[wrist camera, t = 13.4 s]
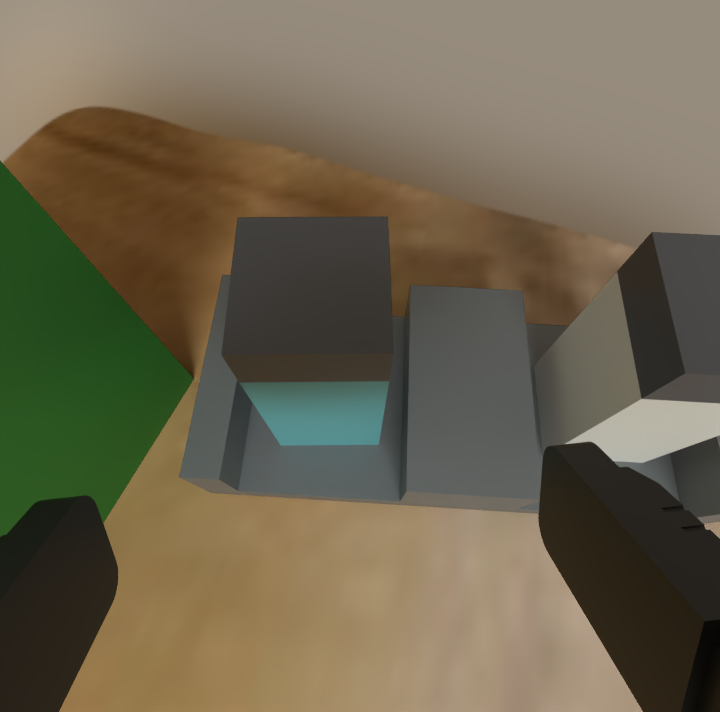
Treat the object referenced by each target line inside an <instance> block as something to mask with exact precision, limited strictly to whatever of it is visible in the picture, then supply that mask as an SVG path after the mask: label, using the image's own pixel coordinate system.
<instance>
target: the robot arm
mask: <svg viewBox="0 0 720 712" xmlns="http://www.w3.org/2000/svg"><path fill="white" fill-rule="evenodd" d="M539 527H540V532H541V536H542V539H543V542H544V545H545V547H546V550H547V551H548V553H549V555H550V557H551V558H552V560H553V562H554V563H555V565H556V567H557V568H558V570H559V572H560V573H561V575H562V577H563V578H564V580H565V582H566V583H567V585H568V587H569V588H570V590H571V592H572V594H573V595H574V597H575V599H576V600H577V602H578V604H579V605H580V607H581V609H582V610H583V612H584V614H585V615H586V617H587V619H588V620H589V622H590V624H591V625H592V627H593V629H594V630H595V632H596V634H597V635H598V637H599V639H600V640H601V642H602V644H603V645H604V647H605V649H606V650H607V652H608V654H609V655H610V657H611V659H612V660H613V662H614V664H615V665H616V667H617V669H618V670H619V672H620V674H621V675H622V677H623V679H624V680H625V682H626V684H627V685H628V687H629V689H630V690H631V692H632V694H633V695H634V697H635V699H636V700H637V702H638V704H639V706H640V707H641V709H642V711H643V712H720V539H719V538H718V537H717V536H716V535H715V534H714V533H713V532H712V531H711V530H706V529H705V527H704V524H703V523H702V522H701V521H700V520H699V519H698V518H696V517H695V516H694V515H693V514H692V513H691V512H690V511H689V510H684V508H683V505H682V504H681V503H680V502H679V501H678V500H677V499H676V498H675V497H674V496H672V495H671V494H670V493H669V492H668V491H667V490H666V489H665V488H664V487H663V486H661V485H660V484H659V483H657V482H656V481H654V480H652V479H650V478H648V477H646V476H644V475H643V474H641V473H639V472H637V471H635V470H633V469H631V468H629V467H619V466H618V465H617V464H616V463H615V462H614V461H613V460H612V459H611V458H610V457H609V456H608V455H607V454H606V453H604V452H603V451H602V450H601V449H600V448H599V447H598V446H597V445H596V444H595V443H593V442H581V443H571V444H562V445H553V446H548V447H547V448H546V449H545V451H544V454H543V461H542V475H541V488H540V502H539ZM117 585H118V567H117V563H116V559H115V556H114V553H113V551H112V548H111V545H110V542H109V539H108V536H107V533H106V530H105V527H104V524H103V521H102V519H101V516H100V513H99V510H98V507H97V505H96V503H95V501H94V500H93V499H92V498H91V497H90V496H87V495H84V496H75V497H66V498H57V499H47V500H40V501H38V502H36V503H35V504H33V505H32V506H31V507H30V509H29V510H28V511H27V512H26V513H25V514H24V515H23V516H22V518H21V519H20V520H19V521H18V522H17V523H16V524H15V526H14V527H13V528H12V529H11V530H10V531H9V532H8V533H7V535H3V536H1V537H0V712H59V710H60V708H61V706H62V704H63V702H64V700H65V698H66V696H67V694H68V692H69V690H70V688H71V686H72V684H73V682H74V680H75V678H76V676H77V674H78V672H79V670H80V668H81V666H82V664H83V662H84V660H85V658H86V656H87V653H88V651H89V649H90V647H91V645H92V643H93V641H94V639H95V637H96V635H97V633H98V631H99V629H100V627H101V625H102V623H103V621H104V619H105V617H106V615H107V613H108V611H109V609H110V607H111V605H112V603H113V600H114V597H115V594H116V590H117Z"/></svg>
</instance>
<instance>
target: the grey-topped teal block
mask: <svg viewBox="0 0 720 712" xmlns="http://www.w3.org/2000/svg"><path fill="white" fill-rule="evenodd" d="M221 355H222V357H223V358H224V360H225V361H226V363H227V364H228V366H229V367H230V369H231V371H232V372H233V374H234V375H235V377H236V378H237V380H238V381H239V383H240V384H241V386H242V387H243V389H244V390H245V392H246V393H247V395H248V396H249V398H250V399H251V401H252V403H253V404H254V406H255V407H256V409H257V410H258V412H259V413H260V415H261V416H262V418H263V419H264V421H265V422H266V424H267V425H268V427H269V428H270V430H271V431H272V433H273V435H274V436H275V438H276V439H277V441H278V442H279V444H280V445H281V446H291V445H379V440H380V434H381V428H382V422H383V416H384V410H385V404H386V398H387V392H388V386H389V380H390V373H391V367H392V361H393V355H394V346H393V322H392V299H391V276H390V253H389V229H388V217H248V218H238V219H237V227H236V236H235V244H234V252H233V261H232V269H231V277H230V286H229V294H228V302H227V311H226V319H225V327H224V336H223V344H222V352H221Z"/></svg>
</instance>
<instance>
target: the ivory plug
mask: <svg viewBox="0 0 720 712" xmlns="http://www.w3.org/2000/svg"><path fill="white" fill-rule="evenodd" d="M534 372H535V382H536V392H537V403H538V413H539V423H540V434H541V444H542V454H544V451H545V449H546V448H547V447H548V446H553V445H562V444H571V443H581V442H593V443H595V444H596V445H597V446H598V447H599V448H600V449H601V450H602V451H603V452H604V453H606V454H607V455H608V456H609V457H610V458H611V459H612V460H613V461H620V462H637V463H644V462H646V461H649V460H652V459H655V458H658V457H660V456H663V455H666V454H669V453H672V452H674V451H677V450H680V449H683V448H686V447H688V446H691V445H694V444H697V443H700V442H702V441H705V440H708V439H711V438H714V437H716V436H719V435H720V235H699V234H680V233H659V232H652V233H651V234H650V235H649V236H648V237H647V238H646V239H645V240H644V242H643V243H642V244H641V245H640V246H639V247H638V248H637V250H636V251H635V252H634V253H633V254H632V255H631V256H630V257H629V259H628V260H627V261H626V262H625V263H624V264H623V265H622V267H621V268H620V269H619V270H618V271H617V272H616V273H615V275H614V276H613V277H612V278H611V279H610V280H609V281H608V282H607V284H606V285H605V286H604V287H603V288H602V289H601V290H600V292H599V293H598V294H597V295H596V296H595V297H594V298H593V299H592V301H591V302H590V303H589V304H588V305H587V306H586V307H585V309H584V310H583V311H582V312H581V313H580V314H579V315H578V316H577V318H576V319H575V320H574V321H573V322H572V323H571V324H570V326H569V327H568V328H567V329H566V330H565V331H564V332H563V333H562V335H561V336H560V337H559V338H558V339H557V340H556V341H555V343H554V344H553V345H552V346H551V347H550V348H549V349H548V350H547V352H546V353H545V354H544V355H543V356H542V357H541V358H540V360H539V361H538V362H537V363H536V364H535V365H534Z"/></svg>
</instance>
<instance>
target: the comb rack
mask: <svg viewBox="0 0 720 712" xmlns="http://www.w3.org/2000/svg"><path fill="white" fill-rule="evenodd" d="M230 277H231V275H222V279H221V284H220V289H219V293H218V298H217V303H216V307H215V312H214V317H213V322H212V326H211V331H210V336H209V340H208V345H207V350H206V354H205V359H204V364H203V369H202V373H201V378H200V383H199V387H198V392H197V397H196V401H195V406H194V411H193V415H192V420H191V425H190V430H189V434H188V439H187V444H186V448H185V453H184V458H183V462H182V467H181V472H180V478H182V479H184V480H186V481H188V482H190V483H192V484H194V485H196V486H199V487H201V488H203V489H205V490H207V491H209V492H211V493H222V494H238V495H254V496H270V497H285V498H301V499H317V500H333V501H348V502H364V503H380V504H396V505H411V506H427V507H443V508H459V509H474V510H490V511H506V512H521V513H537V514H539V502H540V488H541V475H542V461H543V454H542V444H541V434H540V423H539V413H538V403H537V392H536V382H535V372H534V365H535V364H536V363H537V362H538V361H539V360H540V358H541V357H542V356H543V355H544V354H545V353H546V352H547V350H548V349H549V348H550V347H551V346H552V345H553V344H554V343H555V341H556V340H557V339H558V338H559V337H560V336H561V335H562V333H563V332H564V331H565V330H566V329H567V328H568V327H569V326H561V325H543V324H526V319H525V308H524V297H523V291H520V290H501V289H482V288H464V287H445V286H426V285H410V291H409V296H408V302H407V307H406V312H405V317H397V316H392V322H393V346H394V355H393V361H392V367H391V373H390V380H389V386H388V392H387V398H386V404H385V410H384V416H383V422H382V428H381V434H380V440H379V445H291V446H281V445H280V444H279V442H278V441H277V439H276V438H275V436H274V435H273V433H272V431H271V430H270V428H269V427H268V425H267V424H266V422H265V421H264V419H263V418H262V416H261V415H260V413H259V412H258V410H257V409H256V407H255V406H254V404H253V403H252V401H251V399H250V398H249V396H248V395H247V393H246V392H245V390H244V389H243V387H242V386H241V384H240V383H239V381H238V380H237V378H236V377H235V375H234V374H233V372H232V371H231V369H230V367H229V366H228V364H227V363H226V361H225V360H224V358H223V357H222V355H221V352H222V344H223V336H224V327H225V319H226V311H227V302H228V294H229V286H230ZM614 462H615V463H616V464H617V465H618V466H619V467H629V468H631V469H633V470H635V471H637V472H639V473H641V474H643V475H644V476H646V477H648V478H650V479H652V480H654V481H656V482H657V483H659V484H660V485H661V486H663V487H664V488H665V489H666V490H667V491H668V492H669V493H670V494H671V495H672V496H674V497H675V498H676V499H677V500H678V501H679V502H680V503H681V504H682V505H683V508H684V510H689V511H690V512H691V513H692V514H693V515H694V516H695V517H696V518H698V519H699V520H700V521H701V522H702V523H703V524H704V523H713V522H720V435H719V436H716V437H714V438H711V439H708V440H705V441H702V442H700V443H697V444H694V445H691V446H688V447H686V448H683V449H680V450H677V451H674V452H672V453H669V454H666V455H663V456H660V457H658V458H655V459H652V460H649V461H646V462H644V463H637V462H620V461H614Z"/></svg>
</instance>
